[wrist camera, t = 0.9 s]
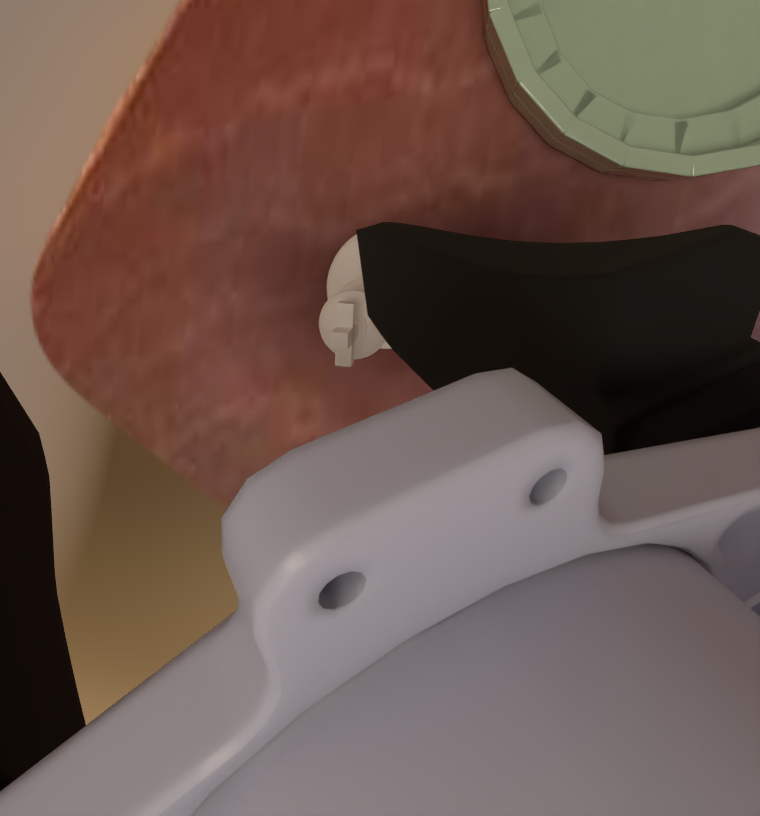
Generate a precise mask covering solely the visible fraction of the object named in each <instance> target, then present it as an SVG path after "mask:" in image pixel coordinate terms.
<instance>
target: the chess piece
mask: <svg viewBox="0 0 760 816" xmlns="http://www.w3.org/2000/svg"><path fill="white" fill-rule="evenodd" d="M327 298H328V301H327V302H326V303H325V304H324V306H323V308H322V310H321V313H320V317H319V330H320V334H321V336H322V339H323V341H324V342H325V344H326V345H327V346H328V348H329V349H330V350H332V351H333V352H334V353H335V366H345V367H351V366H352V365H353V363H354V359H362V358H365V357H368V356H370V355H372V354H373V353H375V352H376V351H377V350H378V349H379V348H380V349H392V348H391V347H390V346H389V345H388V343H387V342H386V341H385V339H384V338H383V337H382V335H381V334H380V333H379V331H378V330H377V328H376V327H375V325H374V324H373V322H372V321H371V320H370V318H369V317H368V315H367V307H366V300H365V292H364V285H363V277H362V270H361V262H360V255H359V247H358V240H357V234H356V235H355V236H353V237H352V238H350V239H349V240H348V241H347V242H346V243H345V244H344V245H343V246H342V247H341V248H340V250H339V251H338V253H337V254H336V256H335V258H334V260H333V262H332V264H331V267H330V269H329V273H328V278H327Z"/></svg>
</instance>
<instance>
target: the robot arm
mask: <svg viewBox="0 0 760 816" xmlns="http://www.w3.org/2000/svg"><path fill="white" fill-rule="evenodd" d="M356 232H357V240H358V247H359V255H360V262H361V270H362V277H363V285H364V292H365V300H366V307H367V315H368V317H369V318H370V320H371V321H372V322H373V324H374V325H375V327H376V328H377V330H378V331H379V333H380V334H381V335H382V337H383V338H384V339H385V341H386V342H387V343H388V345H389V346H390V347H391V348H392V349H393V350H394V351H395V352H396V353H397V354H398V355H399V356H400V357H401V358H402V359H403V360H404V361H405V362H406V363H407V364H408V365H409V367H410V368H411V369H412V370H414V371H415V372H416V373H417V374H418V375H419V376H420V377H421V378H422V379H423V380H424V381H425V382H426V383H427V384H428V385H429V386H430V387H431V388H432V389H433V390H434V391H432V392H429V393H427V394H425V395H422V396H420V397H417V398H415V399H413V400H410V401H408V402H405V403H403V404H401V405H398V406H396V407H393V408H391V409H388V410H386V411H384V412H381V413H379V414H376V415H374V416H372V417H369V418H367V419H364V420H362V421H360V422H357V423H355V424H352V425H350V426H348V427H345V428H343V429H340V430H338V431H336V432H333V433H331V434H328V435H326V436H323V437H321V438H319V439H316V440H314V441H311V442H309V443H307V444H304V445H302V446H299V447H297V448H295V449H292V450H290V451H289V452H287V453H286V454H284V455H283V456H281V457H280V458H278V459H277V460H275V461H274V462H272V463H271V464H269V465H268V466H266V467H265V468H263V469H262V470H260V471H258V472H257V473H255V474H254V475H252V476H251V477H249V478H248V479H247V480H246V481H245V483H244V484H243V486H242V487H241V489H240V491H239V492H238V494H237V495H236V497H235V498H234V500H233V501H232V503H231V504H230V506H229V507H228V509H227V510H226V512H225V514H224V515H223V517H222V519H221V530H222V556H223V559H224V561H225V564H226V566H227V569H228V572H229V574H230V577H231V580H232V582H233V585H234V587H235V590H236V593H237V595H238V599H239V600H238V605H237V608H236V610H235V611H234V612H233V613H232V614H230V615H229V616H228V617H226V618H225V619H224V620H223V621H221V622H220V623H219V624H217V625H216V626H215V627H213V628H212V629H211V630H210V631H208V632H207V633H206V634H204V635H203V636H202V637H200V638H199V639H198V640H197V641H195V642H194V643H193V644H191V645H190V646H189V647H188V648H186V649H185V650H184V651H182V652H181V653H180V654H178V655H177V656H176V657H174V658H173V659H172V660H171V661H169V662H168V663H167V664H166V665H164V666H163V667H161V668H160V669H159V670H158V671H156V672H155V673H154V674H152V675H151V676H150V677H149V678H147V679H146V680H145V681H143V682H142V683H141V684H139V685H138V686H137V687H136V688H134V689H133V690H132V691H130V692H129V693H128V694H127V695H125V696H124V697H122V698H121V699H120V700H119V701H117V702H116V703H115V704H113V705H112V706H111V707H109V708H108V709H107V710H106V711H104V712H103V713H102V714H100V715H99V716H98V717H97V718H95V719H94V720H93V721H91V722H90V723H89V724H87V725H86V724H85V720H84V716H83V712H82V708H81V704H80V700H79V695H78V691H77V688H76V683H75V678H74V674H73V669H72V665H71V661H70V656H69V651H68V647H67V642H66V637H65V632H64V627H63V622H62V617H61V611H60V607H59V601H58V596H57V590H56V580H55V569H54V552H53V534H52V533H53V532H52V514H51V513H52V512H51V497H50V482H49V473H48V469H47V464H46V460H45V455H44V451H43V448H42V444H41V439H40V436H39V433H38V431H37V429H36V428H35V426H34V425H33V423H32V422H31V420H30V418H29V417H28V415H27V414H26V412H25V410H24V409H23V407H22V406H21V404H20V402H19V401H18V399H17V398H16V396H15V395H14V393H13V391H12V390H11V389H10V387H9V385H8V384H7V382H6V380H5V379H4V377H3V376H2V374H1V372H0V816H760V342H758V341H756V340H754V339H752V338H750V337H751V334H752V331H753V328H754V325H755V323H756V320H757V317H758V314H759V311H760V236H759V235H758V234H755V233H752V232H749V231H747V230H744V229H741V228H739V227H736V226H733V225H719V226H714V227H708V228H703V229H697V230H691V231H686V232H680V233H675V234H669V235H663V236H656V237H647V238H639V239H630V240H620V241H607V242H585V243H542V242H522V241H510V240H501V239H494V238H486V237H478V236H472V235H466V234H460V233H454V232H448V231H443V230H437V229H432V228H427V227H421V226H415V225H409V224H402V223H393V222H382V223H378V224H375V225H372V226H369V227H366V228H362V229H359V230H356Z"/></svg>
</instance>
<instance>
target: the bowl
mask: <svg viewBox="0 0 760 816" xmlns="http://www.w3.org/2000/svg"><path fill="white" fill-rule="evenodd" d="M481 6H482V16H483V26H484V36H485V41H486V45H487V48H488V50H489V52H490V55H491V57H492V60H493V62H494V64H495V67H496V69H497V71H498V74H499V76H500V79H501V81H502V83H503V86H504V88H505V90H506V93H507V95H508V98H509V99H511V100H510V101H511V103H512V104H513V105H514V106H515V107H516V108H517V110H518V111H519V112H520V113H521V114H522V115H523V116H524V117H525V119H526V120H527V121H528V122H529V123H530V124H531V125H532V126H533V128H534V129H535V130H536V131H537V132H538V133H539V134H540V135H541V136H542V138H543V139H544V140H545V141H546V142H547V143H548V144H550V145H551V146H552V147H554V148H556V149H558V150H560V151H562V152H563V153H565V154H567V155H569V156H571V157H573V158H575V159H576V160H578V161H580V162H582V163H584V164H586V165H588V166H589V167H591V168H593V169H595V170H597V171H600V172H602V173H609V174H616V175H622V176H629V177H636V178H642V179H649V180H656V181H658V180H660V181H661V180H669V179H678V178H686V177H694V176H700V175H706V174H712V173H718V172H724V171H729V170H735V169H741V168H747V167H753V166H759V165H760V0H481Z"/></svg>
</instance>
